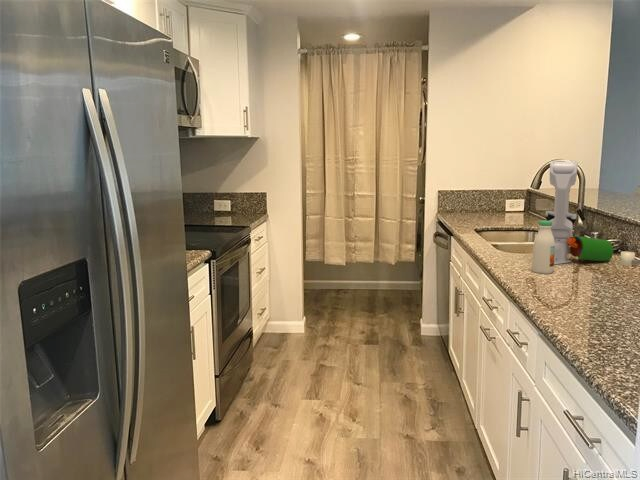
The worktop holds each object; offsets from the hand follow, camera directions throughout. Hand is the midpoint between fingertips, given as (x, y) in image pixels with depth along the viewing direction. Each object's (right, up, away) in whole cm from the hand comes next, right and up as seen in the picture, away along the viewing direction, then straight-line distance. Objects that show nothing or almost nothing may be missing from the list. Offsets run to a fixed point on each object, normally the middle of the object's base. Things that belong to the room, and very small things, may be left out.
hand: (559, 233), depth 237 cm
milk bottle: (-19, -16, -28) cm, 38 cm away
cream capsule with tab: (+20, -13, -18) cm, 29 cm away
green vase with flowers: (+14, -7, -10) cm, 19 cm away
